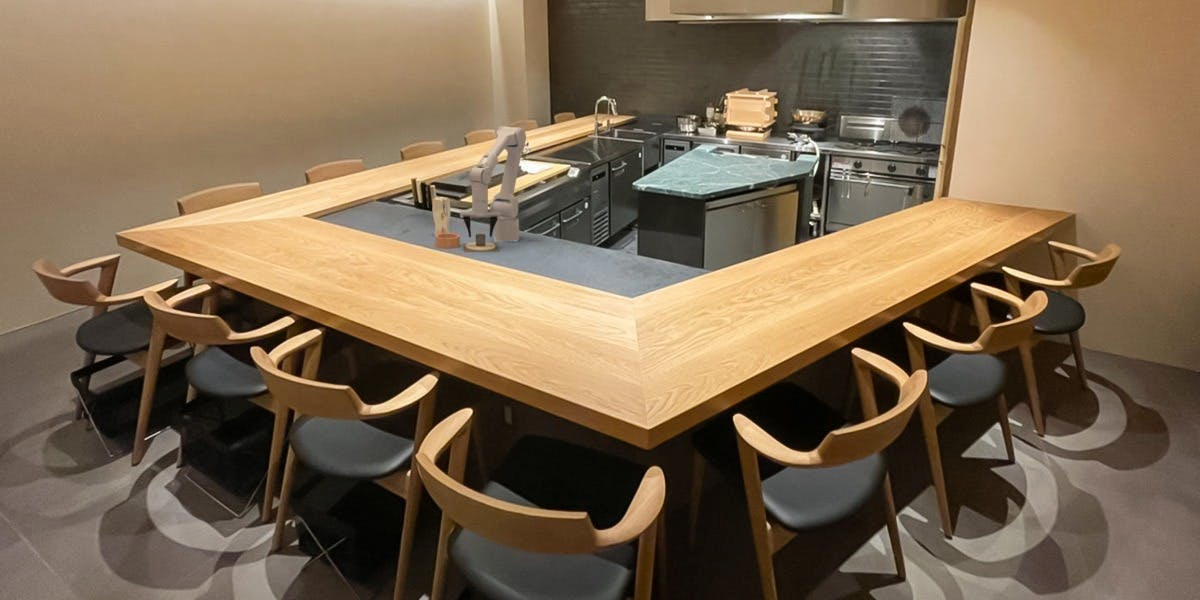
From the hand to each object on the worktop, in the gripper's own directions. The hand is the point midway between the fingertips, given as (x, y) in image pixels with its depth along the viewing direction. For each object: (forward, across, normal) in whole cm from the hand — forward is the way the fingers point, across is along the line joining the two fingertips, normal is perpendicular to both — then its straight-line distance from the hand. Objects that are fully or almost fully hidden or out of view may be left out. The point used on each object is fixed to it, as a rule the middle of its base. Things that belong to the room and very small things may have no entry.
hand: (480, 236), depth 251 cm
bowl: (+5, -12, +4) cm, 13 cm away
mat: (+5, 0, 0) cm, 5 cm away
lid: (+4, 0, 0) cm, 4 cm away
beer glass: (+5, -14, +22) cm, 27 cm away
